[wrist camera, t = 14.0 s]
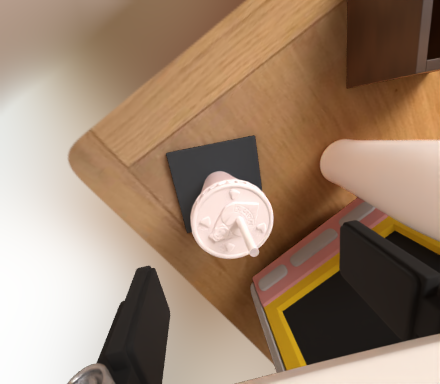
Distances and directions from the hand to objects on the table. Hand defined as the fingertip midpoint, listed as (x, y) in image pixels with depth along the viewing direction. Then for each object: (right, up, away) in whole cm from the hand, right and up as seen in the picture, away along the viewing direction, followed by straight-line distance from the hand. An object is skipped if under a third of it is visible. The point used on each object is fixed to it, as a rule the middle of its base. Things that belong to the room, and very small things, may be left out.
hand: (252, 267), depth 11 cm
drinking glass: (+13, +8, +16) cm, 22 cm away
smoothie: (-2, +4, +15) cm, 16 cm away
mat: (-2, +4, +15) cm, 16 cm away
